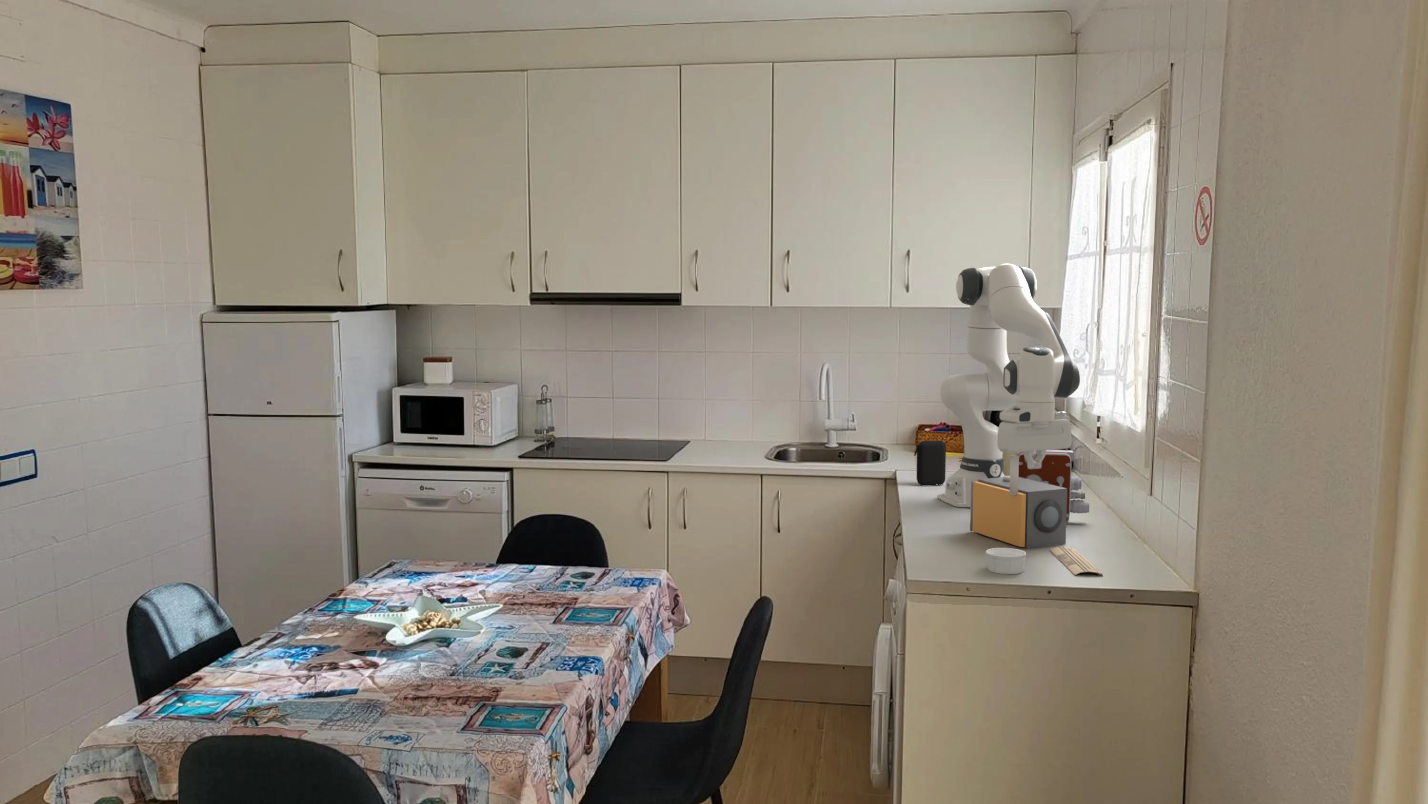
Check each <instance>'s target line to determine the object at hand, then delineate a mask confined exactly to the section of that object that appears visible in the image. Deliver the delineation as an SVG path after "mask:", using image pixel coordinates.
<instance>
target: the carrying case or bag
mask: <svg viewBox="0 0 1428 804" xmlns="http://www.w3.org/2000/svg"><path fill="white" fill-rule="evenodd" d="M946 453H947V446H946V443H945V441H943V440H922V441H919V443H918V444H917V445H916V447H915V449H914V453H913V456H914V457H915V456H916V481H917V484H918V485H919V486H922V485H932V486H940V485H939V484H942V485H944V483H946V469H947V468H946V467H947V465H946V464H947V463H946V459H947V458H946V457H947V456H946V455H947V454H946ZM936 484H938V485H936Z"/></svg>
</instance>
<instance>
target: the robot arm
mask: <svg viewBox="0 0 1428 804" xmlns="http://www.w3.org/2000/svg"><path fill="white" fill-rule="evenodd" d="M1037 283H1038V282H1037V278H1036V274H1035V272H1034V271H1033V269H1031V268H1028V267H1026V266H1025V267H1024V266H1017V265H1015V264H1011V263H1002V264H999V265H996V266H985V267H978V268H975V267H970V268H965V269H963V270H962V271H961V272H960V273H959V274H958V277H957V280H956V284H955V290H956V294H957V299H958V300H959V301H960V302H961V303H962V305H963V304H965V305H967V306H969V311H968V319H967V340H966V341H967V343H966V350H967V353H968V355H969V356H970V357H971V358H973V359H974V360H976V361H978V362H979V363H981V364H984V365H985V366H986V372H984V373H959V374H953V375H952V374H951V375H948V376H946V377H945V378H944V380H943V381H942V382H941V385H940V388H939V396H940V400H941V401H942V404H943V405H944V407H946V408H947V409H948V410H949V411H951V412H952V413H953V414H954V415H955V416H956V418H957V420H958V422H959V423H960V425H961V428H962V432H963V447H964V448H963V450H964V452H963V456H962V457H959V458H958V459H959V460H958V462H959V463H960V464H959V469H958V470H956V471H955V472H954V473H953V474H952V475H951V476H950V477H948V478H946V480H945V487H944V488H945V489H944V493H938V495H936V499H938V498H939V499H938V500H940V499H941V501H942V502H944V503H947V504H948V505H951V506H953V507H957V508H971V481H977V482H978V479H987V478H1000V477H1003V476H1005V475H1004V474H1003V472H1002V470H1004V458H1003V457H1002V455H1003V452H1006V453H1012V452H1024V456H1025V458H1026V460H1027V467H1028V469H1039V468H1041V464H1042V460H1043V459H1044V457H1045V455H1046V450H1064V449H1065V450H1066V449H1067V450H1068V449H1070V447H1071V446H1072V440H1073V439H1072V428H1071V417H1070V416H1069V414H1068V413H1067V412H1065V411H1056V410H1055V409H1056V404H1055V403H1056V398H1059V399H1067V398H1069V397H1071V395H1072V394H1074V393H1075V392H1076V391H1077V390H1078V389H1079V386H1080V384H1081V382H1080V381H1081V375H1080V369H1079V367H1078V365H1077V364H1076V362H1075V360H1073V359H1072V357H1071V355H1070V353H1069V351H1068V349H1067V347H1066V345H1065V344H1064V341H1063V339H1062V337H1061V335H1060V332H1059V330H1058V329H1057V327H1056V325H1055V323H1054V321H1053V319H1052V317H1051V316H1050V314H1049V313H1048V312H1046V311H1044V310H1043V309H1041V308H1040V307H1039V306H1038V305H1037V304H1036V303H1035V301H1034V298H1035V295H1036V292H1037V288H1038V287H1037V285H1038V284H1037ZM1008 332H1009V333H1014V334H1019V335H1023V336H1025V337H1028V338H1031V339H1033V340H1036V341H1037V342H1038V343H1039V344H1040V346H1039V345H1038V346H1037V345H1032V346H1030V345H1029V346H1026V347H1024V348H1022V349H1021V350H1020V355H1019V356H1018V357H1017V358H1015V359H1012V360H1010V359H1009V355H1008V347H1007V346H1008V341H1007V340H1008V339H1007V335H1008ZM985 411H988V412H989V411H995V412H996V411H1000V412H999V419H1000V420H1001V422H1000V423H999V426H997V425H995V424H994V423H992V422H990V421H988V420H986V419H985V418H984V416H983V412H985ZM1034 451H1036V454H1037V456H1036V459H1035V461H1034V460H1033V458H1032V455H1034Z"/></svg>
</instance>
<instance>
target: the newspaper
mask: <svg viewBox="0 0 1428 804" xmlns="http://www.w3.org/2000/svg"><path fill="white" fill-rule="evenodd" d="M1049 551H1050V552H1051V553H1052V554H1053V555H1054V556H1055V557H1056V558H1057V559H1058V560H1059V561H1060V562H1061V563H1062V564H1063V565H1064V567H1066V568H1067V569H1068V571H1070V572H1071V573H1072V574H1073V575H1074V576H1076V575H1077V576H1078V574H1079V575H1080V574H1081V573H1092V574H1093V573H1094V574H1097V575H1098V574H1099V575H1101V576H1102V577H1104V574H1103V573H1102V572H1101V571H1100V570H1099V569H1098V568H1097V567H1095V566H1094V565H1093V564H1092V563H1091V562H1090V561H1089V560H1088V559H1087V558H1085V557H1084V556H1083V555H1082V554H1081V553H1080V552H1079V551H1078V550H1077V549H1076V548H1073V547H1071V546H1070V547H1069V546H1056V547H1053V548H1050V549H1049ZM1099 575H1098V576H1099Z"/></svg>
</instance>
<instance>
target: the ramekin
mask: <svg viewBox="0 0 1428 804" xmlns="http://www.w3.org/2000/svg"><path fill="white" fill-rule="evenodd" d="M985 556H986V567H987V568H986V569H987V570H988V571H990V572H991V573H995V574H999V575H1000V574H1001V575H1017V574H1021V573H1023V571H1025V561H1026V557H1027V552H1026V551H1025V550H1021V549H1017V548H1011V547H1010V548H1009V547H992V548H989V549H988V548H987V549H986V550H985Z"/></svg>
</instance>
